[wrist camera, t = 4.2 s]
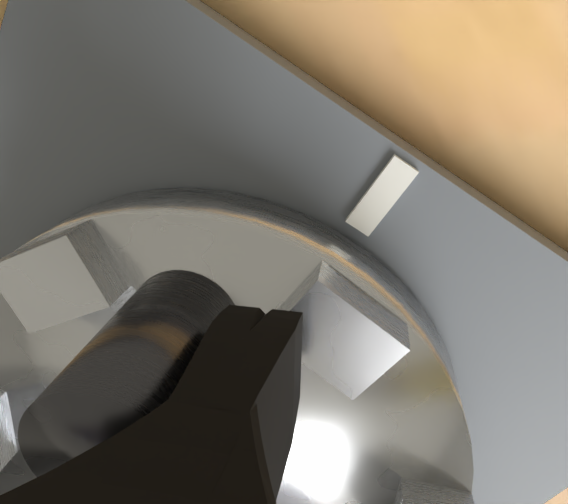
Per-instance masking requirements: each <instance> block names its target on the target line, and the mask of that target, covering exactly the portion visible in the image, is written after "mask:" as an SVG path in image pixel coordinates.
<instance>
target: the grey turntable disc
mask: <svg viewBox="0 0 568 504" xmlns="http://www.w3.org/2000/svg"><path fill="white" fill-rule="evenodd" d="M228 305H237V306H247V307H257V308H260V309H261V310H262V311H263V312H264V313H265V314H266V313H268V312H269V311H270V310H272V309H276V310H286V311H296V312H303V329H302V356H301V384H300V400H299V406H298V412H297V418H296V424H295V430H294V436H293V442H292V446H291V450H290V454H289V457H288V461H287V464H286V468H285V471H284V475H283V478H282V482H281V486H280V489H279V492H278V496H277V499H276V504H474V500H473V496H472V484H473V474H474V468H473V456H472V444H471V438H470V434H469V430H468V426H467V422H466V418H465V414H464V410H463V405H462V401H461V397H460V393H459V389H458V385H457V381H456V378H455V374H454V370H453V367H452V363H451V359H450V357H449V355H448V352H447V350H446V348H445V346H444V344H443V341H442V339H441V337H440V335H439V332H438V330H437V329H436V327H435V326H434V324H433V323H432V321H431V320H430V318H429V316H428V315H427V313H426V312H425V310H424V309H423V307H422V306H421V304H420V303H419V301H418V300H417V299H416V298H415V297H414V296H413V294H412V293H411V292H410V291H409V290H408V289H407V288H406V286H405V285H404V284H403V283H402V282H401V281H400V279H399V278H398V277H397V276H396V275H395V274H394V273H392V272H391V271H390V270H389V269H388V268H387V267H386V266H385V265H383V264H382V263H381V262H380V261H379V260H378V259H377V258H375V257H374V256H373V255H372V254H371V253H370V252H369V251H367V250H366V249H364V248H363V247H361V246H360V245H358V244H357V243H355V242H354V241H352V240H351V239H349V238H348V237H346V236H345V235H343V234H342V233H341V232H339V231H338V230H336V229H334V228H332V227H330V226H328V225H326V224H324V223H322V222H320V221H318V220H316V219H314V218H312V217H310V216H308V215H306V214H304V213H302V212H299V211H296V210H294V209H291V208H288V207H285V206H283V205H280V204H277V203H274V202H271V201H269V200H265V199H261V198H257V197H252V196H248V195H244V194H239V193H235V192H230V191H221V190H211V189H201V188H169V189H154V190H148V191H142V192H137V193H131V194H125V195H122V196H119V197H116V198H113V199H110V200H107V201H104V202H101V203H98V204H95V205H92V206H90V207H89V208H87V209H85V210H83V211H81V212H79V213H77V214H75V215H73V216H71V217H69V218H67V219H66V220H64V221H62V222H61V223H59V224H57V225H56V226H54V227H52V228H51V229H49V230H47V231H46V232H44V233H42V234H41V235H39V236H37V237H35V238H34V239H32V240H30V241H29V242H27V243H25V244H24V245H22V246H20V247H19V248H18V249H16V250H15V251H13V252H11V253H10V254H8V255H6V256H5V257H3V258H1V259H0V495H2V494H4V493H6V492H8V491H10V490H12V489H14V488H17V487H19V486H21V485H23V484H25V483H27V482H29V481H31V480H33V479H35V478H37V477H39V476H41V475H43V474H45V473H47V472H49V471H51V470H53V469H55V468H57V467H58V466H60V465H62V464H64V463H66V462H67V461H69V460H71V459H73V458H75V457H76V456H78V455H80V454H82V453H83V452H85V451H87V450H89V449H91V448H92V447H94V446H96V445H98V444H100V443H101V442H103V441H105V440H107V439H109V438H110V437H112V436H114V435H116V434H117V433H119V432H120V431H122V430H124V429H125V428H127V427H128V426H130V425H132V424H133V423H135V422H136V421H138V420H139V419H141V418H142V417H144V416H145V415H147V414H148V413H150V412H151V411H153V410H154V409H156V408H157V407H159V406H160V405H161V404H163V403H164V402H165V401H167V400H168V399H169V397H170V396H171V394H172V392H173V391H174V389H175V388H176V386H177V384H178V383H179V381H180V379H181V377H182V375H183V373H184V372H185V370H186V368H187V366H188V364H189V362H190V360H191V359H192V357H193V355H194V353H195V351H196V349H197V348H198V346H199V344H200V342H201V340H202V338H203V337H204V335H205V333H206V331H207V329H208V328H209V326H210V324H211V323H212V321H213V320H214V319H215V318H216V316H217V315H218V314H219V313H220V312H221V311H222V310H224V309H225V308H226V307H227V306H228Z"/></svg>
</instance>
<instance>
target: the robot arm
mask: <svg viewBox="0 0 568 504" xmlns="http://www.w3.org/2000/svg"><path fill="white" fill-rule="evenodd" d="M302 329H303V312H296V311H286V310H276V309H272V310H270V311H269V312H268V313H266V314H265V313H264V312H263V311H262V310H261V309H260V308H257V307H247V306H237V305H228V306H227V307H226V308H225V309H224V310H222V311H221V312H220V313H219V314H218V315H217V316H216V318H215V319H214V320H213V321H212V323H211V324H210V326H209V328H208V329H207V331H206V333H205V335H204V337H203V338H202V340H201V342H200V344H199V346H198V348H197V349H196V351H195V353H194V355H193V357H192V359H191V360H190V362H189V364H188V366H187V368H186V370H185V372H184V373H183V375H182V377H181V379H180V381H179V383H178V384H177V386H176V388H175V389H174V391H173V392H172V394H171V396H170V397H169V399H168V400H167V401H165V402H164V403H163V404H161V405H160V406H159V407H157V408H156V409H154V410H153V411H151V412H150V413H148V414H147V415H145V416H144V417H142V418H141V419H139V420H138V421H136V422H135V423H133V424H132V425H130V426H128V427H127V428H125V429H124V430H122V431H120V432H119V433H117V434H116V435H114V436H112V437H110V438H109V439H107V440H105V441H103V442H101V443H100V444H98V445H96V446H94V447H92V448H91V449H89V450H87V451H85V452H83V453H82V454H80V455H78V456H76V457H75V458H73V459H71V460H69V461H67V462H66V463H64V464H62V465H60V466H58V467H57V468H55V469H53V470H51V471H49V472H47V473H45V474H43V475H41V476H39V477H37V478H35V479H33V480H31V481H29V482H27V483H25V484H23V485H21V486H19V487H17V488H14V489H12V490H10V491H8V492H6V493H4V494H2V495H0V504H276V499H277V496H278V492H279V489H280V486H281V482H282V478H283V475H284V471H285V468H286V464H287V461H288V457H289V454H290V450H291V446H292V442H293V436H294V430H295V424H296V418H297V412H298V406H299V400H300V384H301V356H302Z"/></svg>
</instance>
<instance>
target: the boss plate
mask: <svg viewBox="0 0 568 504" xmlns="http://www.w3.org/2000/svg"><path fill="white" fill-rule="evenodd" d="M169 188H201V189H211V190H221V191H230V192H235V193H239V194H244V195H248V196H252V197H257V198H261V199H265V200H269V201H271V202H274V203H277V204H280V205H283V206H285V207H288V208H291V209H294V210H296V211H299V212H302V213H304V214H306V215H308V216H310V217H312V218H314V219H316V220H318V221H320V222H322V223H324V224H326V225H328V226H330V227H332V228H334V229H336V230H338V231H339V232H341V233H342V234H343V235H345V236H346V237H348V238H349V239H351V240H352V241H354V242H355V243H357V244H358V245H360V246H361V247H363V248H364V249H366V250H367V251H369V252H370V253H371V254H372V255H373V256H374V257H375V258H377V259H378V260H379V261H380V262H381V263H382V264H383V265H385V266H386V267H387V268H388V269H389V270H390V271H391V272H392V273H394V274H395V275H396V276H397V277H398V278H399V279H400V281H401V282H402V283H403V284H404V285H405V286H406V288H407V289H408V290H409V291H410V292H411V293H412V294H413V296H414V297H415V298H416V299H417V300H418V301H419V303H420V304H421V306H422V307H423V309H424V310H425V312H426V313H427V315H428V316H429V318H430V320H431V321H432V323H433V324H434V326H435V327H436V329H437V330H438V332H439V335H440V337H441V339H442V341H443V344H444V346H445V348H446V350H447V352H448V355H449V357H450V359H451V363H452V367H453V370H454V374H455V378H456V381H457V385H458V389H459V393H460V397H461V401H462V405H463V410H464V414H465V418H466V422H467V426H468V430H469V434H470V438H471V444H472V456H473V468H474V474H473V484H472V496H473V500H474V504H544V503H545V502H547V501H548V500H550V499H551V498H553V497H554V496H556V495H557V494H559V493H560V492H562V491H563V490H565V489H566V488H567V487H568V252H567V251H565V250H564V249H562V248H561V247H559V246H558V245H556V244H555V243H553V242H552V241H551V240H549V239H548V238H546V237H545V236H543V235H542V234H540V233H539V232H537V231H536V230H534V229H533V228H532V227H530V226H529V225H527V224H526V223H524V222H523V221H521V220H520V219H518V218H517V217H516V216H514V215H513V214H511V213H510V212H508V211H507V210H505V209H504V208H502V207H501V206H499V205H498V204H497V203H495V202H494V201H492V200H491V199H489V198H488V197H486V196H485V195H483V194H482V193H480V192H479V191H478V190H476V189H475V188H473V187H472V186H470V185H469V184H467V183H466V182H464V181H463V180H461V179H460V178H459V177H457V176H456V175H454V174H453V173H451V172H450V171H448V170H447V169H445V168H444V167H442V166H441V165H440V164H438V163H437V162H435V161H434V160H432V159H431V158H429V157H428V156H426V155H425V154H424V153H422V152H421V151H419V150H418V149H416V148H415V147H413V146H412V145H410V144H409V143H407V142H406V141H405V140H403V139H402V138H400V137H399V136H397V135H396V134H394V133H393V132H391V131H390V130H388V129H387V128H386V127H384V126H383V125H381V124H380V123H378V122H377V121H375V120H374V119H372V118H371V117H369V116H368V115H367V114H365V113H364V112H362V111H361V110H359V109H358V108H356V107H355V106H353V105H352V104H351V103H349V102H348V101H346V100H345V99H343V98H342V97H340V96H339V95H337V94H336V93H334V92H333V91H332V90H330V89H329V88H327V87H326V86H324V85H323V84H321V83H320V82H318V81H317V80H315V79H314V78H313V77H311V76H310V75H308V74H307V73H305V72H304V71H302V70H301V69H299V68H298V67H296V66H295V65H294V64H292V63H291V62H289V61H288V60H286V59H285V58H283V57H282V56H280V55H279V54H278V53H276V52H275V51H273V50H272V49H270V48H269V47H267V46H266V45H264V44H263V43H261V42H260V41H259V40H257V39H256V38H254V37H253V36H251V35H250V34H248V33H247V32H245V31H244V30H242V29H241V28H240V27H238V26H237V25H235V24H234V23H232V22H231V21H229V20H228V19H226V18H225V17H223V16H222V15H221V14H219V13H218V12H216V11H215V10H213V9H212V8H210V7H209V6H207V5H206V4H205V3H203V2H202V1H200V0H8V3H7V7H6V11H5V14H4V18H3V21H2V25H1V28H0V259H1V258H3V257H5V256H6V255H8V254H10V253H11V252H13V251H15V250H16V249H18V248H19V247H20V246H22V245H24V244H25V243H27V242H29V241H30V240H32V239H34V238H35V237H37V236H39V235H41V234H42V233H44V232H46V231H47V230H49V229H51V228H52V227H54V226H56V225H57V224H59V223H61V222H62V221H64V220H66V219H67V218H69V217H71V216H73V215H75V214H77V213H79V212H81V211H83V210H85V209H87V208H89V207H90V206H92V205H95V204H98V203H101V202H104V201H107V200H110V199H113V198H116V197H119V196H122V195H125V194H131V193H137V192H142V191H148V190H154V189H169Z"/></svg>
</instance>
